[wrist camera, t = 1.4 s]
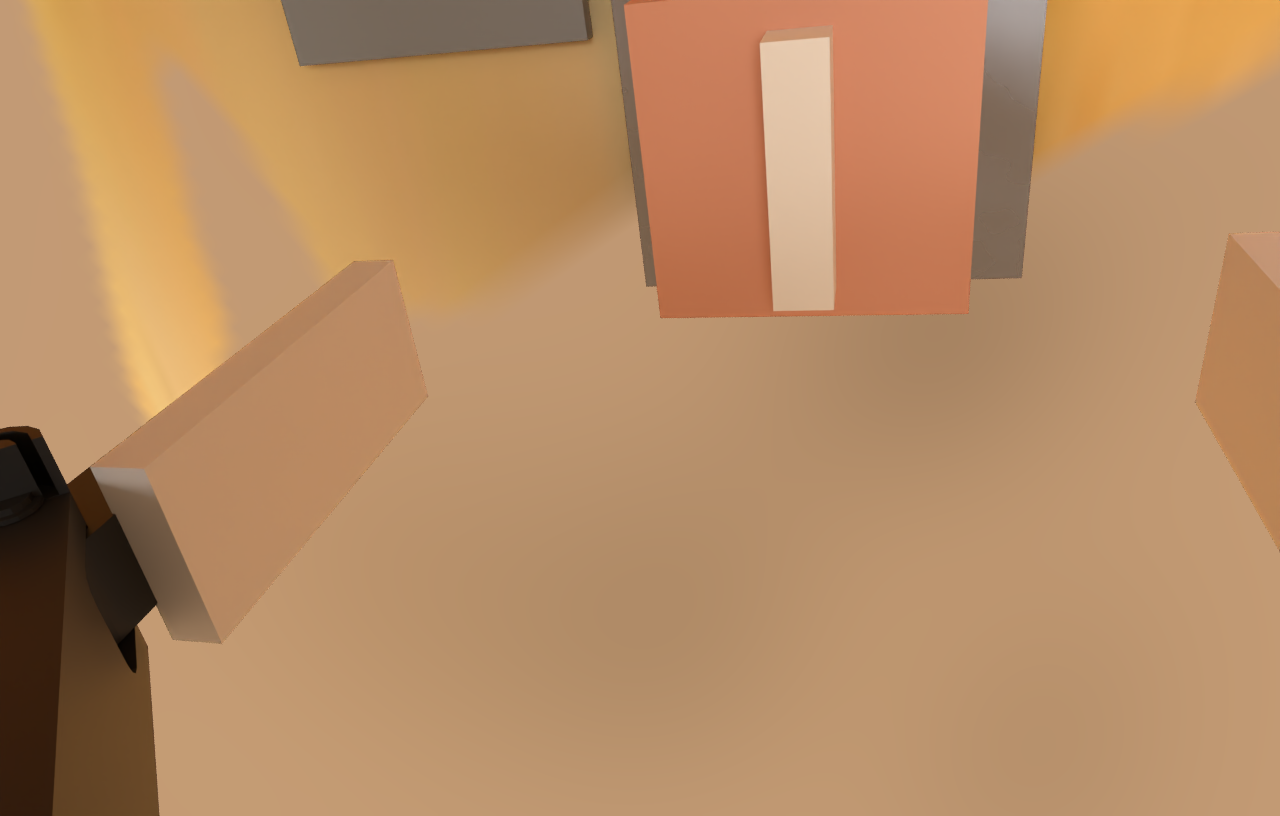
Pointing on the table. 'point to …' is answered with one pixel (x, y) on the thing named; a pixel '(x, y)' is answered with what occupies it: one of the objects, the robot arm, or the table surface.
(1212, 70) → the table surface
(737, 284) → the orange block
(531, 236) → the table surface
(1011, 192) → the grey peg stand
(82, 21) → the table surface
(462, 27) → the mat
